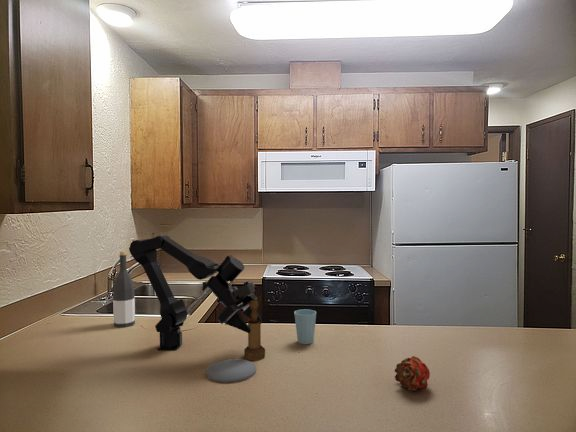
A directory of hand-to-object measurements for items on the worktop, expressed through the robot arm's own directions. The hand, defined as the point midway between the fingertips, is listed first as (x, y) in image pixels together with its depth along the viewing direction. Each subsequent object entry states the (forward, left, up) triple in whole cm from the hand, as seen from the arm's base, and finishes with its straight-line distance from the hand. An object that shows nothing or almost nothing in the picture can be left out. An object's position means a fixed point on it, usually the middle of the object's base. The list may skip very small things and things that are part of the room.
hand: (255, 327), depth 125 cm
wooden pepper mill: (-1, 0, -9) cm, 9 cm away
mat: (-6, -12, -9) cm, 16 cm away
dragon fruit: (+43, -20, -9) cm, 49 cm away
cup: (+15, +14, -9) cm, 23 cm away
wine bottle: (-59, +33, -9) cm, 68 cm away
